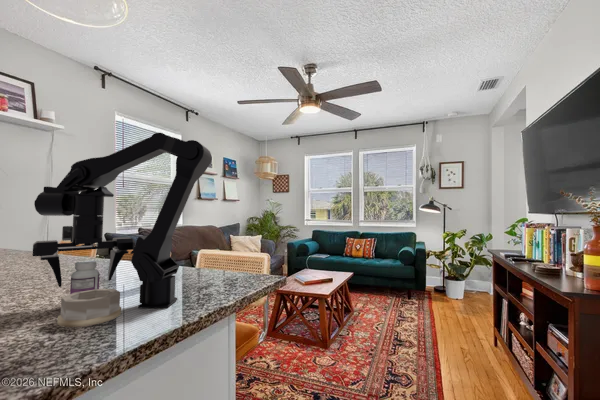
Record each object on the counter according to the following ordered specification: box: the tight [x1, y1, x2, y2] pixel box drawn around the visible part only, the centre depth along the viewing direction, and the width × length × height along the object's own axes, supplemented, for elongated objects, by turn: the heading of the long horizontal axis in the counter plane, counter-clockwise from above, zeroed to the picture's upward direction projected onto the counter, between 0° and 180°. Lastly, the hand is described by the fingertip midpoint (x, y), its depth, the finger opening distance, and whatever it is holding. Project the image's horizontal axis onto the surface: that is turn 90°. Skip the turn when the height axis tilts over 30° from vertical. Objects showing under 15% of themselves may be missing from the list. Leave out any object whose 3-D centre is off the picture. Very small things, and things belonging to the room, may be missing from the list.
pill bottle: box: [69, 260, 101, 295], centre depth 67 cm, size 5×5×10 cm
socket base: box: [56, 288, 122, 328], centre depth 58 cm, size 10×10×4 cm
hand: (85, 283), depth 67 cm, fingers open, 9 cm apart
